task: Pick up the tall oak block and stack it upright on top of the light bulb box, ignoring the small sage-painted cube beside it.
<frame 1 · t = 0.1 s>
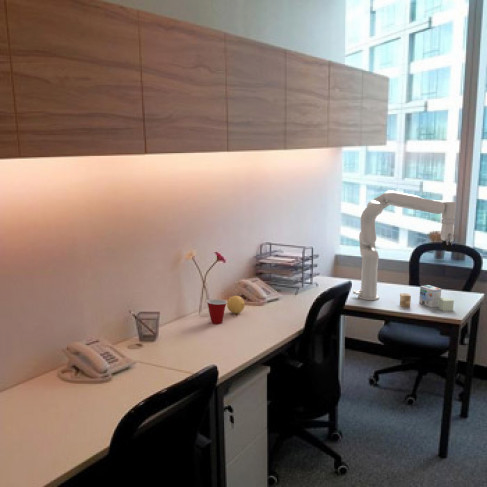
hand: (446, 249, 311), 31 cm above the table, tool pointing down, fingers open, 9 cm apart
oak block: (404, 306, 303), on the table
plastic cup: (217, 322, 275), on the table
sage cube: (445, 309, 297), on the table
light bulb box: (429, 305, 306), on the table
stress ball: (236, 313, 290), on the table
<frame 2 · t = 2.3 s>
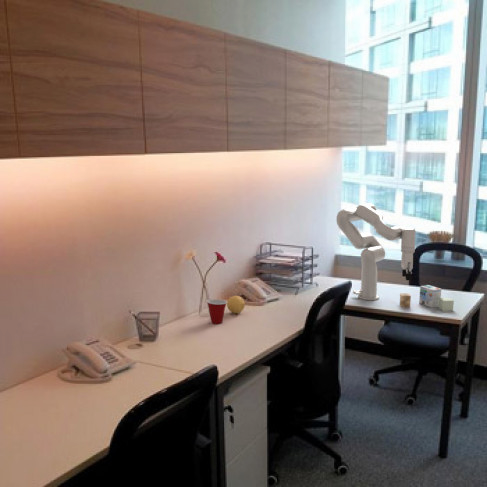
hand: (406, 278, 301), 17 cm above the table, tool pointing down, fingers open, 9 cm apart
nothing on the table moved.
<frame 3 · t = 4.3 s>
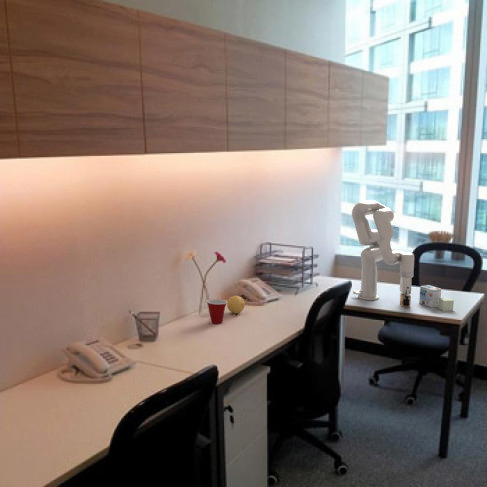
hand: (405, 303, 303), 1 cm above the table, tool pointing down, fingers closed on oak block, 5 cm apart
oak block: (405, 306, 303), on the table, touching gripper
everything else where it was.
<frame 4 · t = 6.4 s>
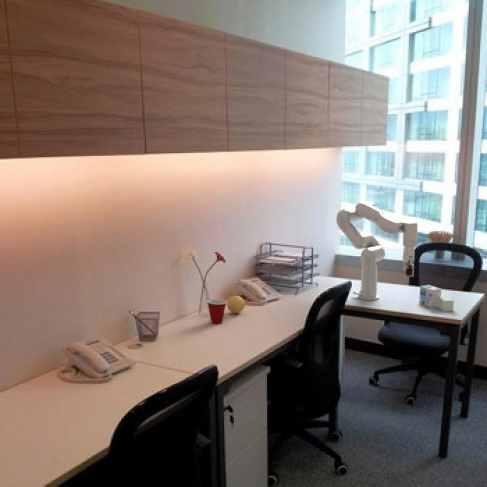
hand: (408, 273, 300), 19 cm above the table, tool pointing down, fingers closed on oak block, 5 cm apart
oak block: (408, 275, 300), point 18 cm above the table, touching gripper
everything else where it was.
when the fingers open (13 cm above the table, at t = 8.8 s): oak block drops 1 cm, resting on light bulb box.
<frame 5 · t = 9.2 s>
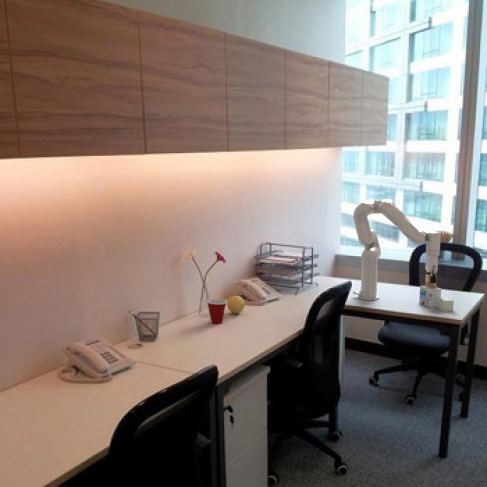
hand: (431, 281, 303), 14 cm above the table, tool pointing down, fingers open, 9 cm apart
oak block: (430, 287, 304), point 11 cm above the table, touching light bulb box
light bulb box: (429, 305, 306), on the table, touching oak block
everything else where it was.
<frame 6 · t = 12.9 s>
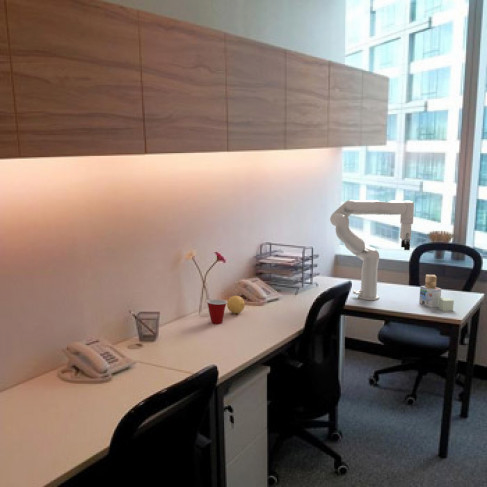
hand: (405, 248, 320), 30 cm above the table, tool pointing down, fingers open, 9 cm apart
nothing on the table moved.
at the end: oak block inside the target area on the light bulb box (0.1 cm from its centre), point 11.0 cm above the light bulb box's base; oak block tilted 0°; the gripper is holding nothing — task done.
